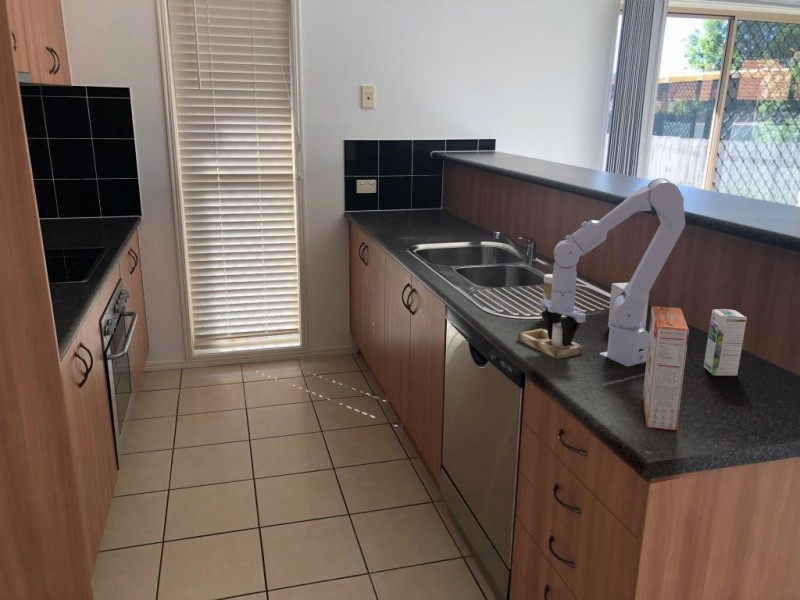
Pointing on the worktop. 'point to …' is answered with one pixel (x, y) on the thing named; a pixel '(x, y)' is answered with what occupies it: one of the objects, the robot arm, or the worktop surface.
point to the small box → (615, 291)
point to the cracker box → (665, 367)
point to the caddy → (548, 344)
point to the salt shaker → (557, 336)
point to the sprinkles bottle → (547, 288)
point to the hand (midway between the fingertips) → (559, 341)
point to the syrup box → (724, 342)
